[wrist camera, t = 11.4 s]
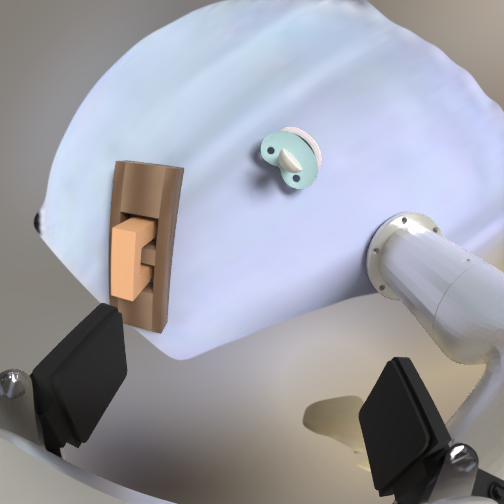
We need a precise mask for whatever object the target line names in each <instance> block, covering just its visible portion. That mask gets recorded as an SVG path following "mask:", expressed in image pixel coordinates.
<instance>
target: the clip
mask: <svg viewBox="0 0 504 504" xmlns="http://www.w3.org/2000/svg"><path fill="white" fill-rule="evenodd" d="M157 225H158V219H157V218H152V217H147V216H142V215H136V216H134V217H132V218H130V219H128V220H126V221H124V222H122V223H120V224H118V225H117V226H115V227H113V228H112V246H111V295H112V296H116V297H119V298H123V299H126V300H130V301H134V300H135V298H136V297H137V296H138V295H139V294H140V292H141V291H142V290H143V289H144V288H145V286H146V285H147V284H148V283H149V282H150V280H151V279H152V278H153V267H154V266H153V265H149V264H144V263H141V250H142V248H143V247H144V246H145V245H146V244H147V243H149V242H150V241H151V240H152V239H154V238H155V237H156V234H157Z"/></svg>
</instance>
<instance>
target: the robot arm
mask: <svg viewBox="0 0 504 504" xmlns="http://www.w3.org/2000/svg"><path fill="white" fill-rule="evenodd" d="M402 218H403V220H402ZM401 220H402V221H401ZM374 249H375V250H374ZM373 250H374V251H373ZM366 267H367V273H368V276H369V279H370V281H371V283H372V285H373V286H374V287H375V289H376V290H377V291H378V292H379V293H380V294H381V295H383V296H384V297H386V298H389V299H392V300H401V302H402V303H403V304H404V305H405V306H406V307H407V309H408V310H409V311H410V312H411V314H412V315H413V316H414V317H415V318H416V320H417V321H418V322H419V323H420V325H421V326H422V327H423V328H424V329H425V331H426V332H427V333H428V334H429V336H430V337H431V338H432V340H433V341H434V342H435V343H436V345H437V346H438V347H439V348H440V349H441V351H442V352H443V353H444V354H445V355H446V356H447V357H448V358H449V359H450V360H452V361H454V362H456V363H459V364H464V365H478V364H485V363H486V368H485V371H484V373H483V375H482V376H481V378H480V379H479V381H478V382H477V384H476V385H475V388H474V389H473V390H472V392H471V393H470V395H469V396H468V397H467V398H466V400H465V401H464V402H463V403H462V405H461V406H460V407H459V408H458V410H457V411H456V412H455V413H454V414H453V416H452V417H451V418H450V419H449V420H448V422H447V423H446V424H444V422H443V420H442V418H441V416H440V414H439V412H438V410H437V408H436V406H435V404H434V402H433V400H432V398H431V396H430V394H429V392H428V391H427V389H426V387H425V385H424V383H423V381H422V379H421V378H420V376H419V374H418V372H417V370H416V369H415V367H414V365H413V363H412V362H411V360H410V359H409V358H406V357H405V358H404V357H394V358H393V359H392V360H391V361H388V362H387V364H386V366H385V367H384V369H383V371H382V373H381V375H380V377H379V379H378V380H377V382H376V384H375V386H374V388H373V389H372V391H371V393H370V394H369V396H368V398H367V400H366V401H365V403H364V404H363V406H362V408H361V409H360V412H359V421H360V425H361V429H362V433H363V438H364V442H365V446H366V450H367V455H368V459H369V464H370V468H371V473H372V478H373V482H374V486H375V489H376V490H378V491H379V496H380V497H383V496H389V495H393V494H394V495H395V500H394V502H393V503H392V504H504V272H502V271H500V270H499V269H497V268H496V267H494V266H492V265H490V264H489V263H487V262H485V261H484V260H482V259H480V258H479V257H477V256H475V255H474V254H472V253H470V252H469V251H467V250H465V249H463V248H462V247H460V246H458V245H456V244H454V243H453V242H451V241H449V240H447V239H445V238H443V235H442V232H441V230H440V228H439V227H438V225H437V224H436V223H435V222H434V221H433V220H432V219H431V218H430V217H428V216H426V215H424V214H421V213H418V212H404V213H400V214H397V215H395V216H393V217H392V218H390V219H388V220H387V221H386V222H385V223H384V224H383V225H382V226H381V227H380V228H379V229H378V230H377V232H376V233H375V235H374V237H373V239H372V240H371V243H370V246H369V248H368V253H367V258H366ZM126 375H127V363H126V354H125V345H124V333H123V319H122V314H121V313H120V312H119V311H118V308H117V307H115V306H111V305H108V304H105V303H101V304H100V305H99V306H97V307H96V308H95V309H94V310H93V311H92V312H91V313H90V314H89V315H88V316H87V317H86V318H85V319H84V320H83V321H82V322H80V323H79V324H78V325H77V326H76V327H75V328H74V329H73V330H72V331H71V332H70V333H69V334H68V335H67V336H66V337H65V338H64V339H63V340H62V341H61V342H60V343H59V344H58V345H57V346H56V347H55V348H54V349H53V350H52V351H51V352H50V353H49V354H48V355H47V356H46V357H45V358H44V359H43V360H42V361H41V362H40V363H39V364H38V365H37V366H36V368H34V370H33V372H32V374H31V375H30V376H29V375H28V374H27V373H26V372H24V371H22V370H19V369H8V370H5V371H3V372H1V373H0V504H176V503H172V502H169V501H165V500H161V499H158V498H155V497H152V496H148V495H145V494H142V493H139V492H137V491H134V490H131V489H128V488H125V487H123V486H120V485H118V484H115V483H112V482H110V481H108V480H105V479H103V478H101V477H99V476H97V475H94V474H92V473H90V472H87V471H85V470H83V469H81V468H79V467H77V466H75V465H73V464H71V463H69V462H67V461H66V458H65V454H64V450H63V447H64V446H65V444H66V442H67V443H69V444H71V445H73V446H75V447H77V448H79V446H80V444H81V443H82V442H83V443H85V442H87V440H88V439H89V437H90V435H91V434H92V432H93V430H94V428H95V427H96V425H97V423H98V422H99V420H100V418H101V417H102V415H103V413H104V412H105V410H106V408H107V407H108V405H109V404H110V402H111V400H112V399H113V397H114V395H115V394H116V392H117V391H118V389H119V387H120V386H121V384H122V382H123V381H124V379H125V377H126Z"/></svg>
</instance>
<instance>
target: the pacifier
mask: <svg viewBox="0 0 504 504" xmlns="http://www.w3.org/2000/svg"><path fill="white" fill-rule="evenodd" d="M298 136H299V137H298ZM300 137H301V138H302V139H304V140H305V141H306V142H307V143H308V144H309V146H310V147H311V149H312V150H311V149H310V147H309V146H308V145H307V144H306V143H305V142H304V141H303V140H302V139H301V138H300ZM269 147H273V148H274V150H275V151H274V153H273V154H269V153H268V152H267V149H268V148H269ZM312 151H313V152H312ZM261 154H262V156H263V158H264V159H265V160H266V161H267V162H268V163H269V164H271V165H273V166H277V167H279V168H280V172H281V175H282V178H283V180H284V181H285V182H286V183H287V184H288V185H289V186H291V187H293V188H296V189H304V188H307V187H309V186H310V185H311V184H313V182H314V181H315V179H316V177H317V174H318V169H319V168H320V167H321V163H322V156H321V152H320V149H319V147H318V145H317V143H316V142H315V141H314V139H313V138H312V137H311V136H310V135H309V134H307V133H306V132H304V131H303V130H301V129H298V128H296V127H285V128H283V129H281V130H280V131H276V132H273V133H271V134H269V135H268V136H266V137H265V139H264V140H263V142H262V144H261ZM294 175H298V176H299V177H300V180H299V181H298V182H294V181H293V176H294Z"/></svg>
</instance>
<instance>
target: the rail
mask: <svg viewBox="0 0 504 504" xmlns="http://www.w3.org/2000/svg"><path fill="white" fill-rule="evenodd" d="M183 173H184V168H180V167H174V166H167V165H159V164H152V163H144V162H135V161H116V164H115V172H114V181H113V190H112V202H111V216H110V235H109V298H110V305H111V306H115V307H117V308H118V311H119V312H120V313H121V314H122V319H123V323H125V324H128V325H132V326H135V327H139V328H142V329H146V330H150V331H153V332H157V333H162V331H163V329H164V327H165V325H166V323H167V316H168V301H169V288H170V276H171V265H172V255H173V246H174V237H175V229H176V221H177V213H178V206H179V199H180V192H181V185H182V179H183ZM130 213H131V214H137V215H142V216H148V217H153V218H158V219H159V221H158V231H157V241H156V242H154V241H150V242H149V243H147V244H146V245H145V246H144V247H143V248H142V250H141V263H144V264H149V265H153V266H154V282H153V283H152V282H149V283H148V284H147V285H146V286H145V288H144V289H143V290H142V291H141V292H140V294H139V295H138V296H137V297H136V298H135V300H134V301H130V300H126V299H123V298H119V297H116V296H112V295H111V246H112V228H113V227H115V226H117V225H118V224H120V223H122V222H124V221H126V220H128V219H130Z"/></svg>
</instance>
